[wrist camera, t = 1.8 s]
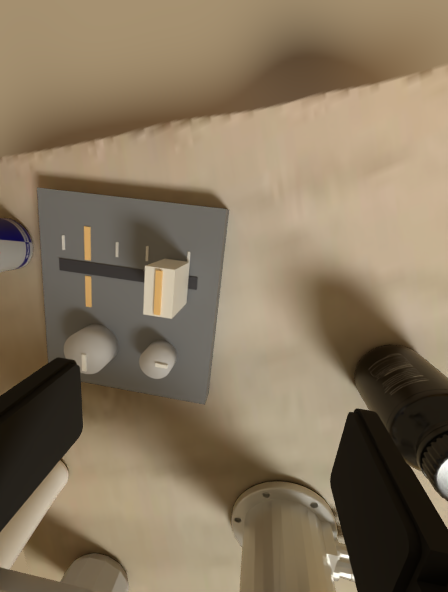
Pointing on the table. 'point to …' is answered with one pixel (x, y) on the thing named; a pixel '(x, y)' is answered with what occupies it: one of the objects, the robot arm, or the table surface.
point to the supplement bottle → (409, 407)
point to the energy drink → (14, 245)
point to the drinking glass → (30, 515)
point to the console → (130, 290)
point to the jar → (97, 574)
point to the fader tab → (165, 287)
